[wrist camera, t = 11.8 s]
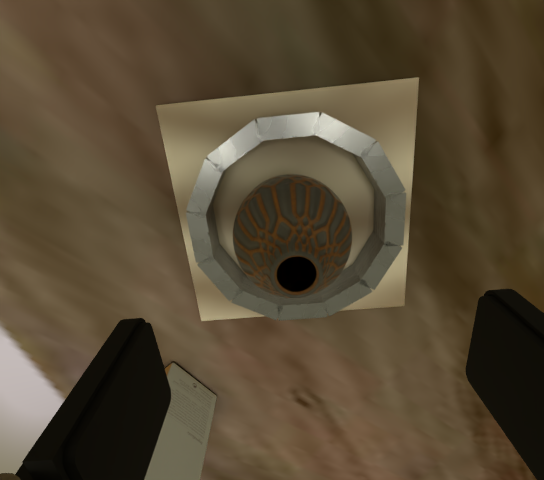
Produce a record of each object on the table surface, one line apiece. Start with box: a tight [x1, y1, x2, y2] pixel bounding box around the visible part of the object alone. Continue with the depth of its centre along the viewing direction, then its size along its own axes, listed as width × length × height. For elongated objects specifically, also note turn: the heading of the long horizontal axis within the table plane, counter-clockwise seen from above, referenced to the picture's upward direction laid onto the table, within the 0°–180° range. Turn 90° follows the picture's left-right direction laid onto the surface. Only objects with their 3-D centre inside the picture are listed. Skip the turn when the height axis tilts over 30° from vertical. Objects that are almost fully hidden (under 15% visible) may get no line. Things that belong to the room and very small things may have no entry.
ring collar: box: [186, 112, 406, 320], centre depth 21 cm, size 13×13×2 cm
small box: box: [144, 363, 217, 480], centre depth 25 cm, size 8×6×10 cm
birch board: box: [156, 77, 419, 321], centre depth 23 cm, size 16×16×1 cm
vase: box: [233, 174, 352, 298], centre depth 18 cm, size 7×7×9 cm
